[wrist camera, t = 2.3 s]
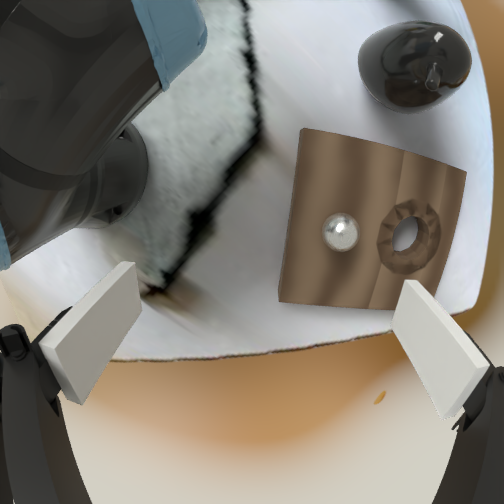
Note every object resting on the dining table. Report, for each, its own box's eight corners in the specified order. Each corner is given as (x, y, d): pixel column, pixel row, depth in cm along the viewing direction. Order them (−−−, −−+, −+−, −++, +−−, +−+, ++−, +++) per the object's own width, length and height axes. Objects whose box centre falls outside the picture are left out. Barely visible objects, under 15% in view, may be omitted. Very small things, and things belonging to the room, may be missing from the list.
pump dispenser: (332, 82, 26) (382, 36, 12) (370, 29, 23) (426, -25, 9) (399, 134, 28) (480, 134, 13) (431, 79, 24) (508, 59, 10)
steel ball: (315, 241, 30) (322, 255, 26) (322, 206, 29) (330, 215, 25) (349, 246, 30) (360, 259, 26) (356, 211, 28) (368, 221, 25)
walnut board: (278, 290, 36) (278, 301, 33) (300, 130, 28) (303, 127, 26) (419, 300, 35) (428, 311, 33) (453, 169, 28) (466, 171, 26)
